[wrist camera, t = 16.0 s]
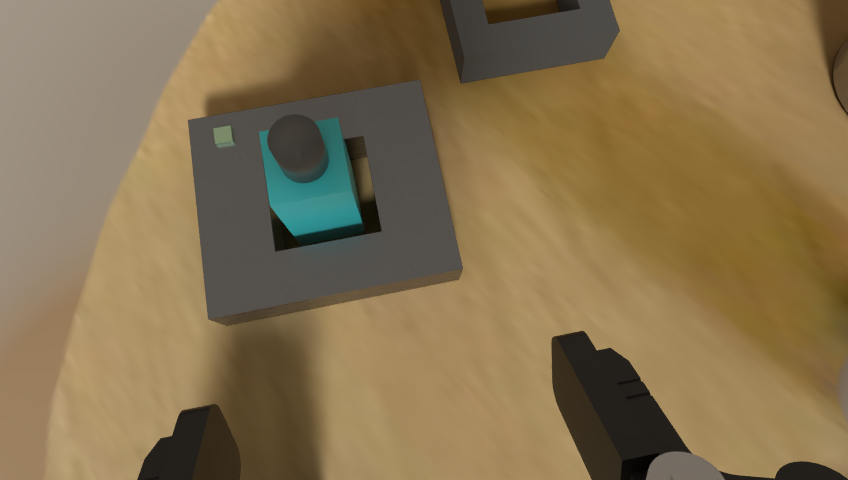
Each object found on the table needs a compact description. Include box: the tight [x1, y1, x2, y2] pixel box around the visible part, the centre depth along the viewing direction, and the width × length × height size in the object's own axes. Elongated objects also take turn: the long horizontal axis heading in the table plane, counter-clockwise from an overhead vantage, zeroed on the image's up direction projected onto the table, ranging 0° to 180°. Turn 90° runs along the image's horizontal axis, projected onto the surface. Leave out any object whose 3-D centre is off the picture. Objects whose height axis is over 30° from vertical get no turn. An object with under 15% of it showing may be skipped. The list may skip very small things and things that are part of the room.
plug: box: [259, 114, 365, 246], centre depth 30 cm, size 4×4×10 cm
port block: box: [188, 80, 463, 326], centre depth 33 cm, size 14×12×3 cm
